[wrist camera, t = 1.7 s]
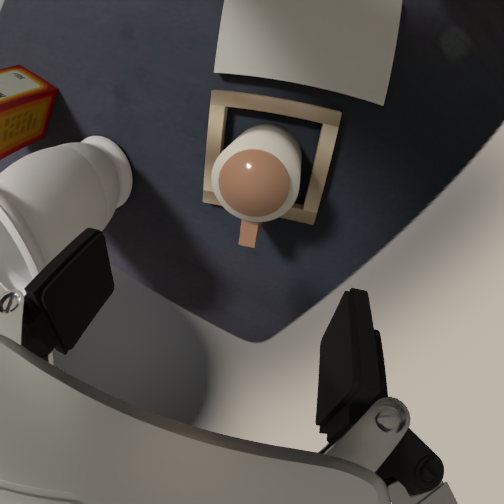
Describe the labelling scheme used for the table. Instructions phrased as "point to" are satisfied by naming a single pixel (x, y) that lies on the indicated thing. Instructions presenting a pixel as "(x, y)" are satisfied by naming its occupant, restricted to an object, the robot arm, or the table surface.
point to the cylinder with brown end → (258, 177)
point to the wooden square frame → (283, 107)
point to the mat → (312, 43)
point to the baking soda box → (23, 108)
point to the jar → (57, 203)
